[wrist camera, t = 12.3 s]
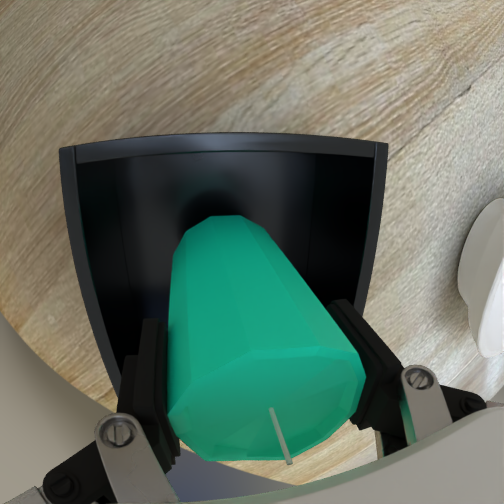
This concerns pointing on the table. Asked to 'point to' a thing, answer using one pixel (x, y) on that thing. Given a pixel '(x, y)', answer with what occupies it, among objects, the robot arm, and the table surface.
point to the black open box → (214, 204)
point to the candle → (252, 349)
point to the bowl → (485, 279)
